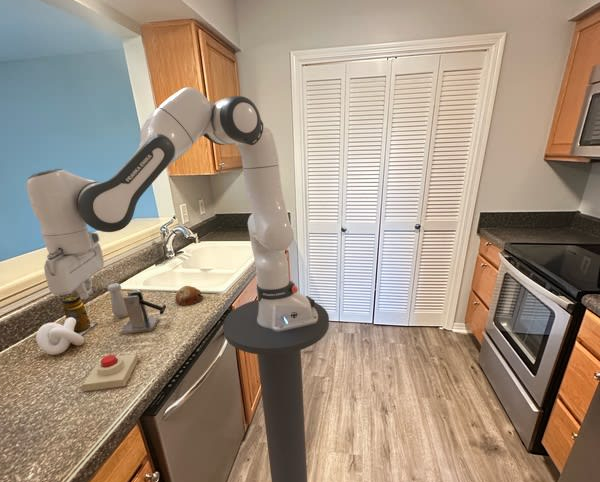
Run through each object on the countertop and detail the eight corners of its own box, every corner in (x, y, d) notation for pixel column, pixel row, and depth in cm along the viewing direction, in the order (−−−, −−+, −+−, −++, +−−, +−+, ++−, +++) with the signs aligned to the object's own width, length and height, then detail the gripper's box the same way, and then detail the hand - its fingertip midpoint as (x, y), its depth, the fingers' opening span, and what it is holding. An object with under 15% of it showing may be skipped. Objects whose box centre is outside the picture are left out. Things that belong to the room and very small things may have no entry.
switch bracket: (158, 319, 119) (151, 288, 114) (153, 330, 112) (144, 297, 107) (130, 322, 118) (121, 291, 113) (122, 334, 111) (112, 300, 106)
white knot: (97, 339, 108) (89, 316, 105) (64, 361, 98) (54, 335, 94) (72, 335, 111) (63, 312, 108) (37, 356, 101) (26, 331, 97)
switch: (165, 309, 117) (167, 304, 116) (161, 316, 112) (164, 310, 112) (130, 297, 113) (133, 291, 112) (126, 303, 108) (128, 297, 108)
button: (119, 359, 91) (117, 354, 90) (114, 366, 88) (112, 361, 87) (105, 360, 91) (103, 355, 90) (100, 368, 87) (98, 363, 87)
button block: (138, 359, 97) (135, 348, 95) (125, 386, 86) (121, 373, 84) (103, 363, 96) (99, 352, 94) (84, 391, 85) (80, 379, 83)
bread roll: (188, 302, 140) (177, 287, 138) (207, 293, 138) (196, 277, 135) (179, 313, 131) (167, 297, 129) (200, 303, 129) (188, 287, 126)
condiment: (96, 323, 119) (86, 293, 114) (81, 335, 111) (70, 304, 106) (77, 324, 119) (66, 294, 114) (61, 336, 111) (49, 305, 107)
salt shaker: (134, 313, 125) (125, 282, 120) (121, 320, 120) (111, 288, 115) (123, 311, 128) (114, 280, 122) (110, 317, 123) (100, 286, 118)
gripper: (60, 255, 67) (81, 314, 72) (101, 232, 85) (115, 280, 91) (27, 257, 66) (51, 317, 71) (75, 234, 84) (91, 283, 90)
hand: (87, 296), depth 81 cm, fingers closed
